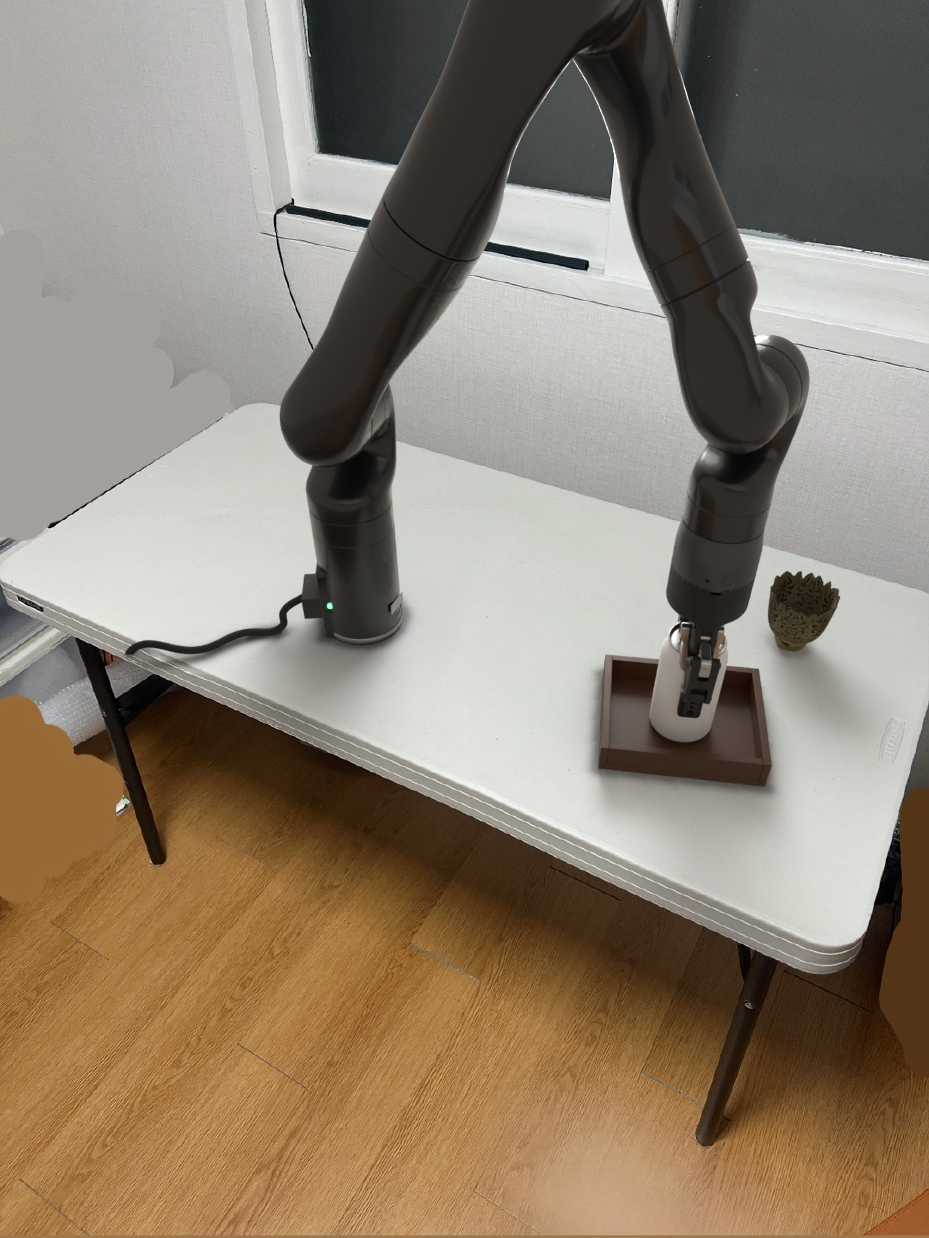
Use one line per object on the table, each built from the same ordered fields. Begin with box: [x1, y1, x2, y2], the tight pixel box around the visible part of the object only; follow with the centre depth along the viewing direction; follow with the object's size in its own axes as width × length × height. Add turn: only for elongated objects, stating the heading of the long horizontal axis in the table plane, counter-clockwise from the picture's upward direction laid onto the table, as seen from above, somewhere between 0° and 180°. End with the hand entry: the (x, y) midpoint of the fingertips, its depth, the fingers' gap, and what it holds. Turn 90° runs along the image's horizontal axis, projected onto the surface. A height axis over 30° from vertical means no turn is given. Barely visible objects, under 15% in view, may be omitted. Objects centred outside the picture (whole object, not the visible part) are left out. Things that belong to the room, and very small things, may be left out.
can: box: [650, 622, 729, 742], centre depth 91 cm, size 6×6×12 cm
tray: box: [597, 653, 773, 787], centre depth 94 cm, size 17×14×3 cm
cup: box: [767, 570, 841, 652], centre depth 102 cm, size 8×7×8 cm
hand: (686, 689), depth 91 cm, fingers closed on can, 6 cm apart
